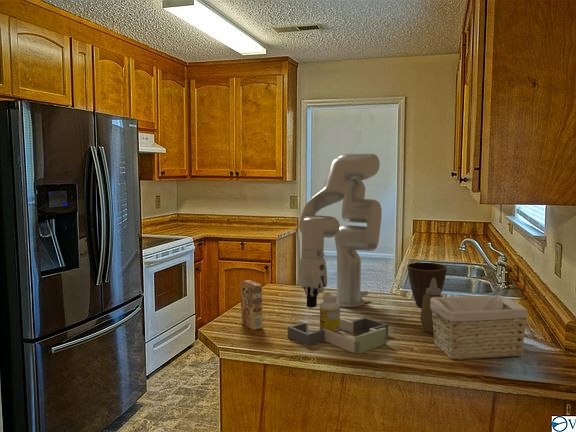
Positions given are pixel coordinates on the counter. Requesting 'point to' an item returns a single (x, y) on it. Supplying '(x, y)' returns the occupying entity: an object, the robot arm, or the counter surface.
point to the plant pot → (425, 278)
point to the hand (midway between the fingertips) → (311, 306)
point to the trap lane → (368, 339)
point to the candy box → (251, 304)
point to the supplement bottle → (330, 313)
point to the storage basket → (478, 326)
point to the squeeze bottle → (426, 310)
